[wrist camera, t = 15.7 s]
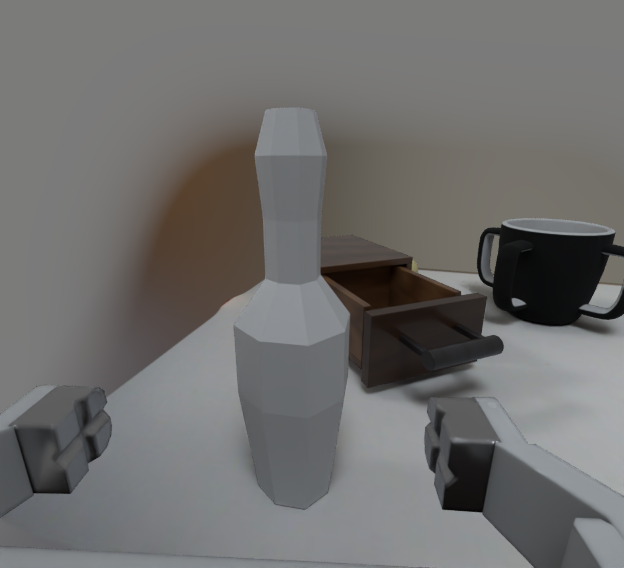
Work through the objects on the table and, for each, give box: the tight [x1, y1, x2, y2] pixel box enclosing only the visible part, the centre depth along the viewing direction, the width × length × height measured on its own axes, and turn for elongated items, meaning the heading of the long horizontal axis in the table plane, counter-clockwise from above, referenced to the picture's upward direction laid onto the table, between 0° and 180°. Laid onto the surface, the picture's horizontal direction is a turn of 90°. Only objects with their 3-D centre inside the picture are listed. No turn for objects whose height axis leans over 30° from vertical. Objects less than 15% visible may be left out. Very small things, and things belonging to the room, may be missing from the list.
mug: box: [477, 218, 624, 324], centre depth 50 cm, size 16×16×12 cm
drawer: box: [321, 265, 504, 388], centre depth 38 cm, size 19×12×7 cm, turn 22°
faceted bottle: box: [234, 108, 350, 509], centre depth 21 cm, size 6×6×22 cm
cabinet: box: [320, 235, 413, 274], centre depth 52 cm, size 16×14×9 cm
